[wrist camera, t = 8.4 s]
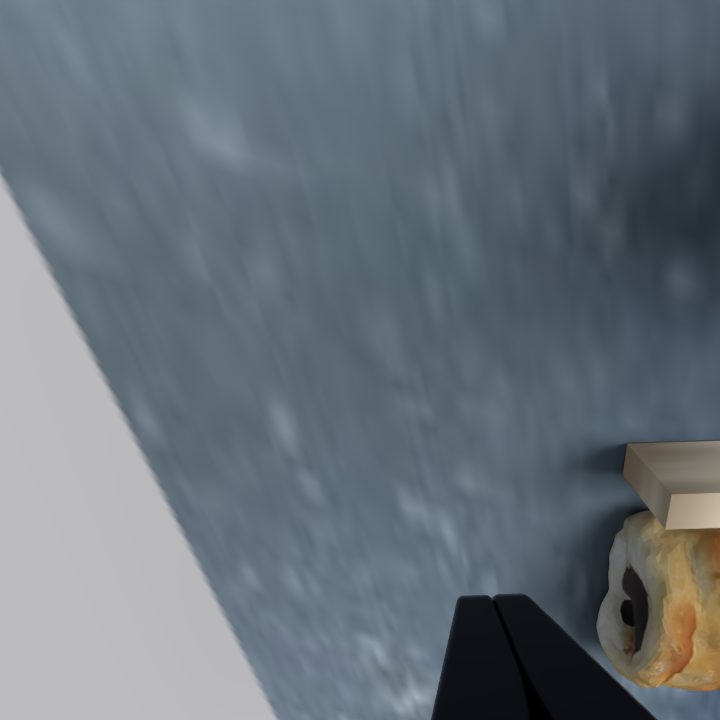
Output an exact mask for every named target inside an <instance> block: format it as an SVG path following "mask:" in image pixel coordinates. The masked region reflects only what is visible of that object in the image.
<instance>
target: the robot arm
mask: <svg viewBox="0 0 720 720" xmlns="http://www.w3.org/2000/svg"><path fill="white" fill-rule="evenodd" d="M431 720H657V719H656V718H655V717H654V716H653V715H652V714H651V713H650V712H649V711H648V710H647V709H646V708H645V707H644V706H643V705H642V704H641V703H640V702H638V701H637V700H636V699H635V698H634V697H633V696H632V695H631V694H630V693H629V692H628V691H627V690H626V689H625V688H624V687H623V686H622V685H621V684H620V683H619V682H618V681H617V680H615V679H614V678H613V677H612V676H611V675H610V674H609V673H608V672H607V671H606V670H605V669H604V668H603V667H602V666H601V665H600V664H599V663H598V662H597V661H596V660H595V659H594V658H592V657H591V656H590V655H589V654H588V653H587V652H586V651H585V650H584V649H583V648H582V647H581V646H580V645H579V644H578V643H577V642H576V641H575V640H574V639H573V638H572V637H571V636H569V635H568V634H567V633H566V632H565V631H564V630H563V629H562V628H561V627H560V626H559V625H558V624H557V623H556V622H555V621H554V620H553V619H552V618H551V617H550V616H549V615H548V614H546V613H545V612H544V611H543V610H542V609H541V608H540V607H539V606H538V605H537V604H536V603H535V602H534V601H533V600H532V599H531V598H530V597H528V596H527V595H525V594H498V595H495V596H494V597H493V598H491V597H489V596H488V595H472V596H461V597H459V598H458V600H457V603H456V607H455V612H454V617H453V621H452V626H451V630H450V635H449V640H448V644H447V649H446V653H445V658H444V663H443V667H442V672H441V676H440V681H439V686H438V690H437V695H436V699H435V704H434V708H433V713H432V718H431Z"/></svg>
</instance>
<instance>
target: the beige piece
mask: <svg viewBox="0 0 720 720" xmlns="http://www.w3.org/2000/svg"><path fill="white" fill-rule="evenodd" d="M623 476H624V477H625V479H626V480H627V481H628V483H629V484H630V485H631V486H632V488H633V489H634V490H635V492H636V493H637V494H638V495H639V497H640V498H641V499H642V500H643V502H644V503H645V504H646V506H647V507H648V508H649V509H650V511H651V512H652V513H653V515H654V516H655V517H656V518H657V520H658V521H659V522H660V524H661V525H662V526H663V527H664V529H665V530H669V529H701V528H720V441H695V442H661V443H627V449H626V456H625V463H624V469H623Z"/></svg>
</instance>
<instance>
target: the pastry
mask: <svg viewBox="0 0 720 720" xmlns="http://www.w3.org/2000/svg"><path fill="white" fill-rule="evenodd" d="M609 562H610V565H609V571H608V578H609V591H608V593H607V595H606V596H605V598H604V600H603V602H602V604H601V607H600V610H599V614H598V620H597V632H598V636H599V640H600V643H601V645H602V648H603V650H604V652H605V654H606V655H607V657H608V659H609V660H610V662H611V663H612V665H613V666H614V668H615V669H616V670H617V671H618V673H619V674H621V675H623V676H625V677H626V678H627V679H628V680H630V681H632V682H634V683H635V684H637V685H638V686H640V687H649V686H650V687H653V688H656V687H658V686H659V685H663V686H668V687H672V688H681V689H686V690H695V691H710V690H720V528H701V529H669V530H665V529H664V527H663V526H662V525H661V524H660V522H659V521H658V520H657V518H656V517H655V516H654V515H653V513H652V512H651V511H650V510H647V511H643V512H639V513H637V514H634V515H632V516H630V517H629V518H627V519H626V520H625V521H624V526H623V529H622V530H621V531H620V532H618V533H617V534H616V536H615V539H614V542H613V546H612V548H611V551H610V555H609Z"/></svg>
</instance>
